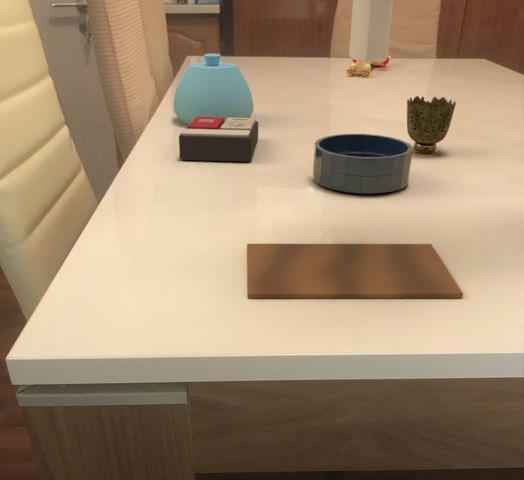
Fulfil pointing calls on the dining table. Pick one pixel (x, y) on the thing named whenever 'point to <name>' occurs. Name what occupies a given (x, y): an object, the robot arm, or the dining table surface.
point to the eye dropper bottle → (370, 30)
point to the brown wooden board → (348, 271)
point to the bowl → (362, 163)
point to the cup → (428, 122)
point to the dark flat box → (219, 139)
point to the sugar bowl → (212, 91)
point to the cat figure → (364, 67)
